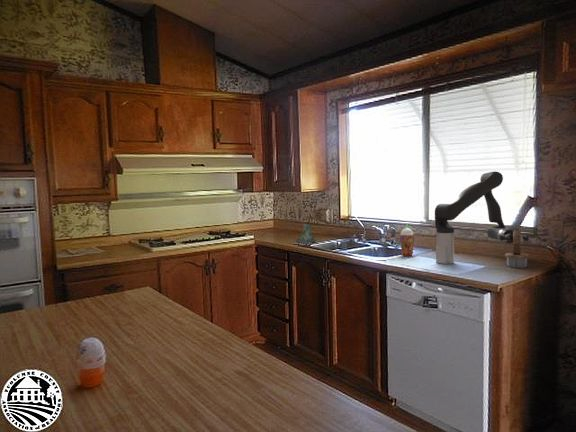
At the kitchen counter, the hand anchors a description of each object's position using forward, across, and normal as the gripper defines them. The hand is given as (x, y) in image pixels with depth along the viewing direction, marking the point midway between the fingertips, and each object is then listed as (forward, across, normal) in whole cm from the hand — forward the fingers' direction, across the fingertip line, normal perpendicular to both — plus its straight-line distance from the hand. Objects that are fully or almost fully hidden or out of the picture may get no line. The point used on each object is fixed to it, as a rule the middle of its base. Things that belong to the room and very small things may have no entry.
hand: (518, 239), depth 228 cm
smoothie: (-38, -52, +15) cm, 66 cm away
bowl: (-2, 0, +14) cm, 15 cm away
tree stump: (-98, -122, +15) cm, 157 cm away
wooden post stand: (-2, 0, +10) cm, 10 cm away
